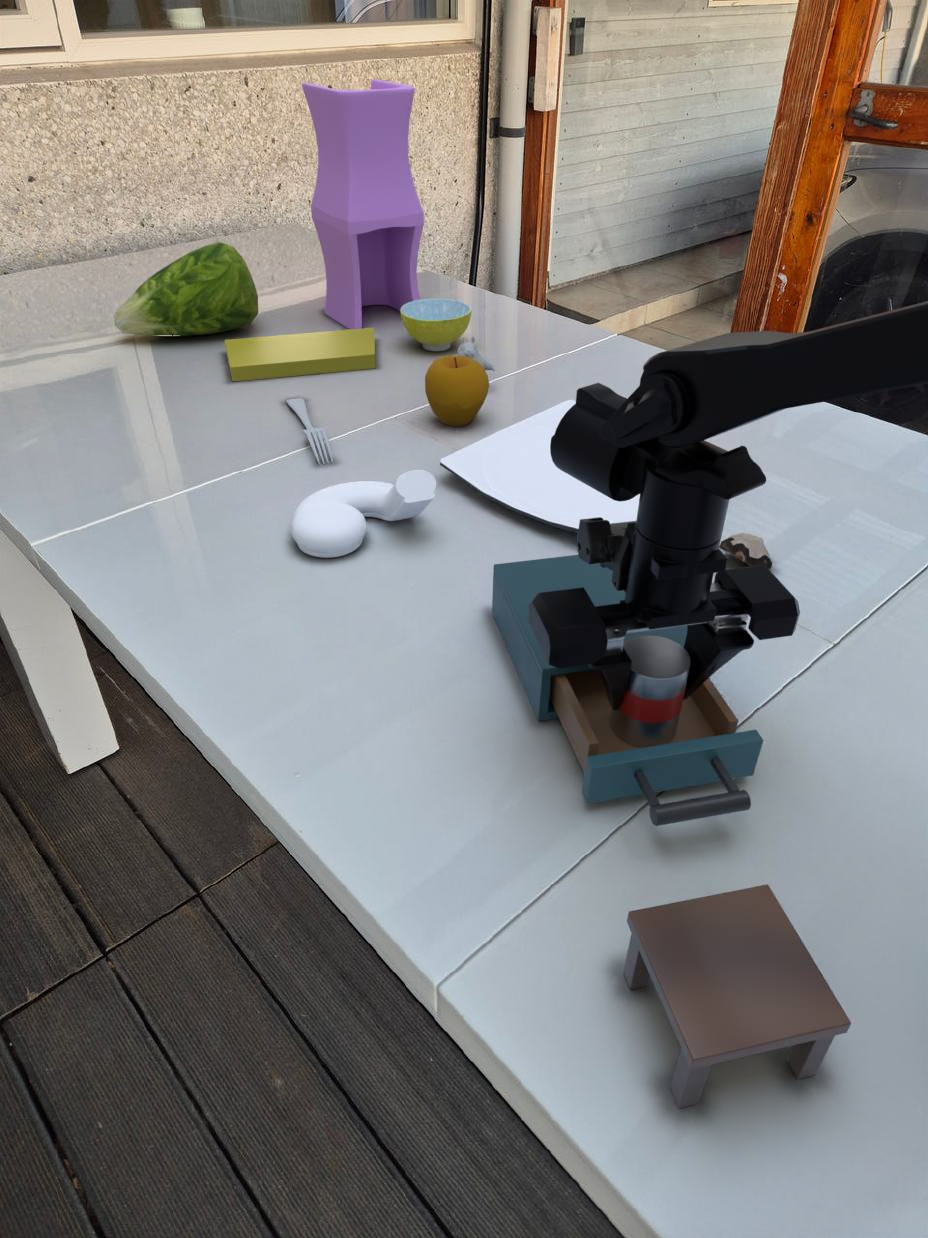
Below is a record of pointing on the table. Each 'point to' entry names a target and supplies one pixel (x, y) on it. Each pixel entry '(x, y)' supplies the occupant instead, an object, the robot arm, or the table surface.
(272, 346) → the flat olive board
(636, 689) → the can
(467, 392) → the apple
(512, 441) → the plate
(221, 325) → the lettuce
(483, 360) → the figurine
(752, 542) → the decorative stone
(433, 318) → the bowl
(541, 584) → the cabinet
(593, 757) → the drawer
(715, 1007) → the stool
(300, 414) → the fork
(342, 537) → the sculpture
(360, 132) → the purple hollow column
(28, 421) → the table surface
